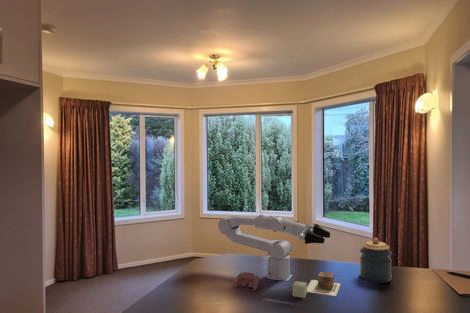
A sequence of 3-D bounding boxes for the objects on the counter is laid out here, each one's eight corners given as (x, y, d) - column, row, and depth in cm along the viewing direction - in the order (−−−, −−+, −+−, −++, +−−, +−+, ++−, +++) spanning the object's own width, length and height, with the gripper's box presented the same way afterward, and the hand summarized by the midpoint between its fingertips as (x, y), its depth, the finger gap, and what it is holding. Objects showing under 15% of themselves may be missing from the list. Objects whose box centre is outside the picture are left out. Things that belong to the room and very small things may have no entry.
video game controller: (258, 292, 152) (261, 274, 154) (255, 291, 148) (258, 272, 151) (236, 288, 156) (239, 271, 158) (232, 287, 152) (235, 269, 155)
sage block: (292, 297, 143) (292, 284, 142) (295, 293, 147) (295, 280, 147) (304, 299, 141) (304, 286, 141) (306, 295, 145) (306, 282, 145)
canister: (358, 281, 160) (358, 240, 159) (360, 271, 172) (360, 233, 171) (391, 285, 155) (392, 243, 154) (391, 275, 167) (391, 236, 166)
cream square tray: (304, 292, 147) (304, 291, 147) (311, 281, 160) (311, 279, 160) (335, 297, 142) (335, 295, 142) (340, 285, 155) (340, 283, 155)
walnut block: (317, 288, 150) (317, 275, 150) (320, 283, 155) (320, 271, 155) (331, 290, 148) (332, 277, 148) (333, 285, 153) (334, 273, 153)
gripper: (290, 225, 153) (322, 234, 146) (303, 216, 165) (333, 224, 159) (288, 241, 154) (320, 250, 148) (301, 231, 167) (331, 239, 160)
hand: (327, 238), depth 153 cm, fingers open, 7 cm apart
